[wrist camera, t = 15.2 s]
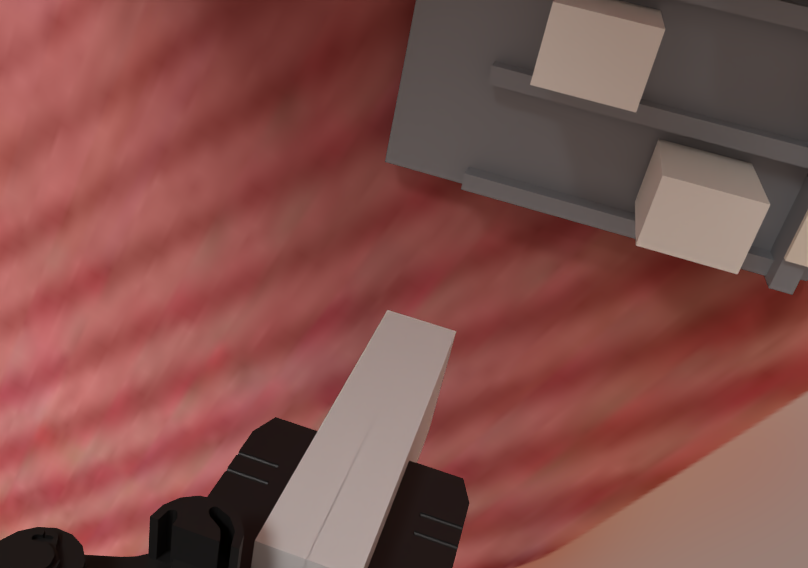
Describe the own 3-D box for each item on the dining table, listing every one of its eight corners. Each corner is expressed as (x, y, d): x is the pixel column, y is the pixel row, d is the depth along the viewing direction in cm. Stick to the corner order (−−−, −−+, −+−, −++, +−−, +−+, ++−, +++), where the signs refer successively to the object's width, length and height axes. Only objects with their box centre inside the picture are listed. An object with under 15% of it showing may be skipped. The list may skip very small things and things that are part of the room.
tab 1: (543, 59, 33) (529, 84, 29) (563, -14, 31) (552, 1, 27) (635, 83, 32) (635, 112, 28) (660, 10, 31) (665, 29, 27)
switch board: (393, 152, 38) (371, 176, 35) (467, -224, 31) (447, -238, 27) (800, 267, 36) (817, 304, 32) (995, -113, 28) (1044, -114, 25)
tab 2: (635, 201, 35) (635, 245, 30) (658, 138, 33) (662, 175, 29) (724, 226, 34) (737, 274, 30) (752, 163, 33) (770, 204, 28)
